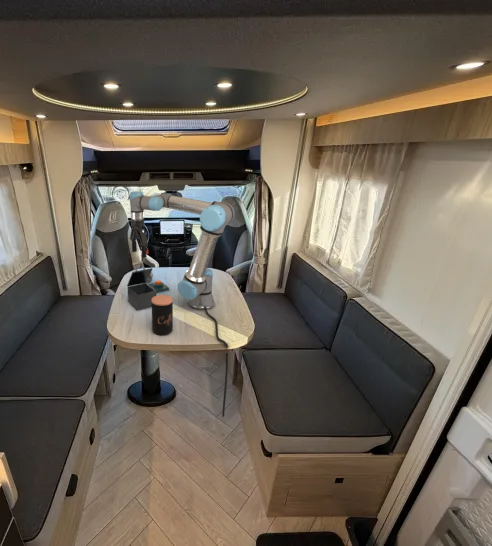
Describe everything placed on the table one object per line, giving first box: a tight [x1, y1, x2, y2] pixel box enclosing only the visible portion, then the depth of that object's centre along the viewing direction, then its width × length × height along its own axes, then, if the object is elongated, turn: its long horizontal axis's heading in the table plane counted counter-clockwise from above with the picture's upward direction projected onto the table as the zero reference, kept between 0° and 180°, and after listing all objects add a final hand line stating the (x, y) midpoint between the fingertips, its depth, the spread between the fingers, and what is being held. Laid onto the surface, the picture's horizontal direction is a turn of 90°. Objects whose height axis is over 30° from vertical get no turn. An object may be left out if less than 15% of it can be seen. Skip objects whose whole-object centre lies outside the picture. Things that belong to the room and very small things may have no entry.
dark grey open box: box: [127, 283, 158, 311], centre depth 188 cm, size 15×13×10 cm
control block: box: [147, 281, 170, 294], centre depth 210 cm, size 12×10×4 cm
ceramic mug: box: [146, 271, 154, 284], centre depth 222 cm, size 11×8×8 cm
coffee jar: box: [151, 294, 174, 337], centre depth 157 cm, size 11×11×18 cm
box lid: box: [126, 260, 153, 287], centre depth 188 cm, size 16×13×8 cm
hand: (139, 254), depth 186 cm, fingers open, 13 cm apart
